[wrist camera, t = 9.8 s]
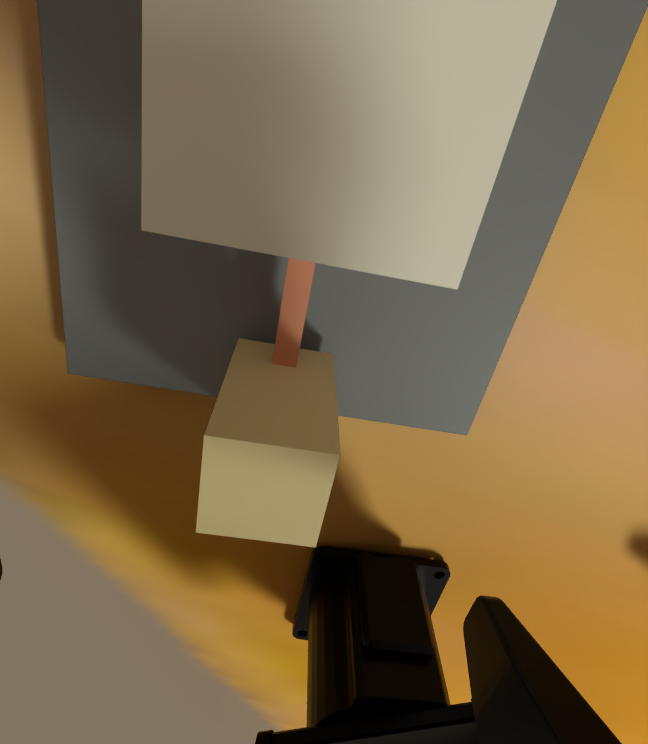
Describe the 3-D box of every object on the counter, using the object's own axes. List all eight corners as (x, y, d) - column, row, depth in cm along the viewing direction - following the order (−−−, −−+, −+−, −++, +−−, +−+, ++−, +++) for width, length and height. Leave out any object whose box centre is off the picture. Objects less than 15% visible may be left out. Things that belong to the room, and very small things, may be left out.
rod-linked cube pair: (357, 427, 17) (373, 554, 12) (188, 402, 16) (133, 524, 11) (485, -32, 11) (625, -156, 6) (219, -102, 10) (128, -306, 5)
